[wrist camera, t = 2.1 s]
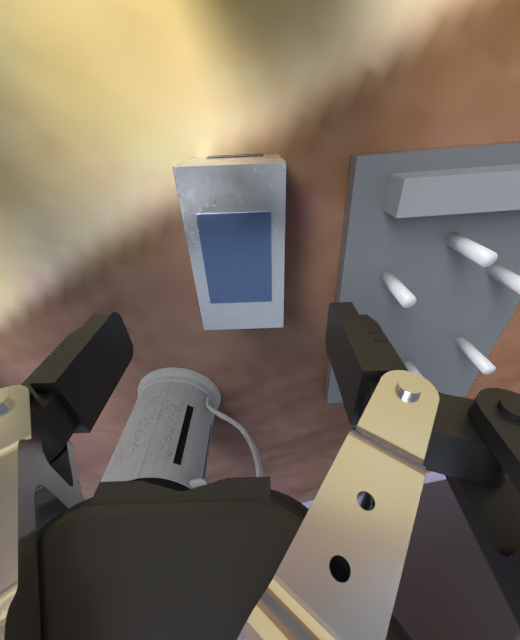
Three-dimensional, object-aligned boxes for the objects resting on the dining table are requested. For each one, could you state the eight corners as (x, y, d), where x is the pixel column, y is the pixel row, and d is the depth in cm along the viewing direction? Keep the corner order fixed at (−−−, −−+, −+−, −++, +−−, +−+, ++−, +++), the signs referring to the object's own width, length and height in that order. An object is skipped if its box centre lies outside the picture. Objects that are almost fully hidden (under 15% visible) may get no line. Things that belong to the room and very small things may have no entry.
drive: (195, 156, 16) (171, 166, 12) (278, 152, 16) (286, 161, 12) (215, 288, 21) (204, 331, 17) (277, 286, 21) (283, 328, 17)
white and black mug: (119, 385, 28) (11, 587, 15) (238, 333, 24) (218, 546, 12) (173, 428, 32) (122, 611, 20) (280, 390, 28) (298, 587, 16)
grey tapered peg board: (351, 154, 16) (380, 162, 12) (592, 135, 16) (700, 137, 12) (324, 394, 29) (335, 435, 25) (457, 387, 28) (489, 427, 25)
